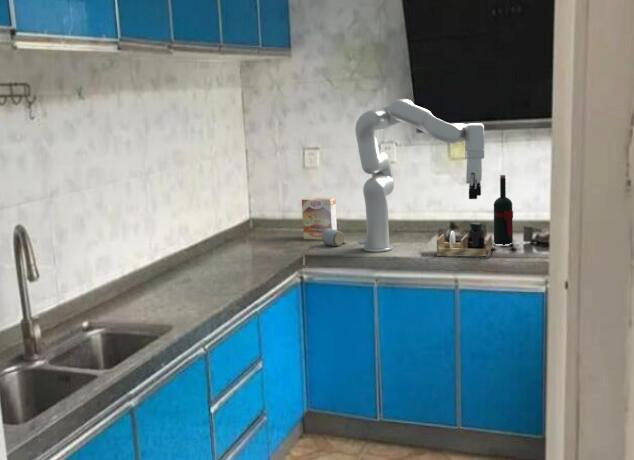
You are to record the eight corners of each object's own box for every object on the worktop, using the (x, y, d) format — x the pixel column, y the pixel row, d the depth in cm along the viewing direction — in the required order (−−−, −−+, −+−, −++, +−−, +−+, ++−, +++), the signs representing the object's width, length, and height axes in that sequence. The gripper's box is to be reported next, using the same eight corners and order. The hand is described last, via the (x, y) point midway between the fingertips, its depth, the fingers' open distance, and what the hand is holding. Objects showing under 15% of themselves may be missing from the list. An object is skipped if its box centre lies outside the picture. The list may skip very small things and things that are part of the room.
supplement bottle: (465, 253, 292) (465, 224, 290) (470, 249, 298) (469, 221, 296) (482, 253, 289) (481, 224, 286) (486, 250, 294) (486, 221, 292)
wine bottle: (502, 248, 300) (502, 177, 295) (490, 244, 310) (489, 175, 305) (519, 246, 302) (519, 175, 297) (506, 242, 312) (506, 173, 307)
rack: (437, 255, 293) (436, 239, 292) (442, 249, 304) (442, 234, 303) (487, 257, 286) (487, 240, 285) (491, 250, 297) (491, 234, 295)
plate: (449, 253, 293) (449, 232, 291) (453, 249, 301) (453, 228, 299) (451, 253, 292) (451, 232, 291) (455, 249, 300) (455, 228, 299)
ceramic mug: (334, 248, 320) (333, 231, 319) (321, 246, 326) (321, 229, 325) (350, 244, 327) (350, 227, 326) (337, 242, 333) (337, 226, 332)
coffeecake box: (303, 239, 344) (301, 199, 340) (309, 236, 350) (306, 197, 347) (332, 240, 338) (330, 199, 335) (337, 237, 345) (335, 197, 341)
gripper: (468, 153, 295) (469, 194, 299) (461, 157, 280) (461, 200, 283) (487, 152, 293) (487, 194, 296) (480, 156, 277) (481, 200, 280)
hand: (475, 197), depth 289 cm, fingers open, 9 cm apart
